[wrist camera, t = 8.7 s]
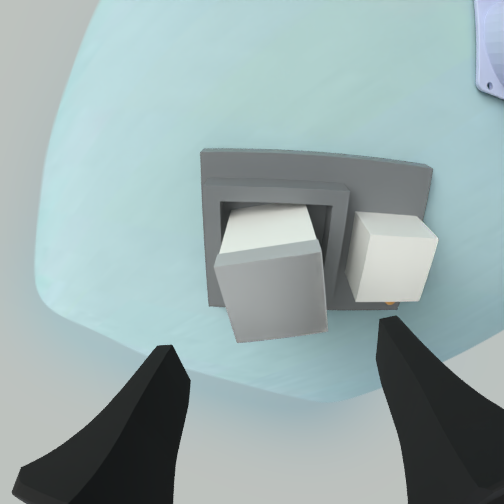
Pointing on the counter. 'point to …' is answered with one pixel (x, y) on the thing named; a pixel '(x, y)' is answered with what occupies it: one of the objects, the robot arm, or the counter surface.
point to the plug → (272, 273)
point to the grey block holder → (331, 217)
